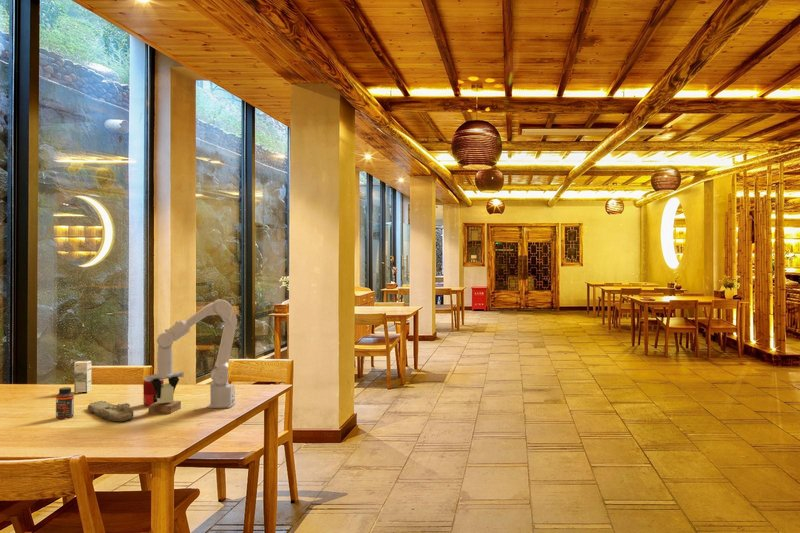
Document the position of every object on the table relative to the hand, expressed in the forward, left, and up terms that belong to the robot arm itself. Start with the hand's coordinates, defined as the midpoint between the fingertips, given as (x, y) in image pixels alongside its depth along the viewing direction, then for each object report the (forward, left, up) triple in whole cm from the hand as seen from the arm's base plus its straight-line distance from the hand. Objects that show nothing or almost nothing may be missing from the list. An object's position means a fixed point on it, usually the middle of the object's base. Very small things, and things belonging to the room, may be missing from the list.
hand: (164, 397), depth 236 cm
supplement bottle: (+34, +11, -6) cm, 36 cm away
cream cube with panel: (0, 0, -2) cm, 2 cm away
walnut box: (0, 0, -6) cm, 6 cm away
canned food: (+10, -12, -6) cm, 17 cm away
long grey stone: (+20, +6, -6) cm, 21 cm away
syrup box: (+55, -38, -6) cm, 67 cm away
